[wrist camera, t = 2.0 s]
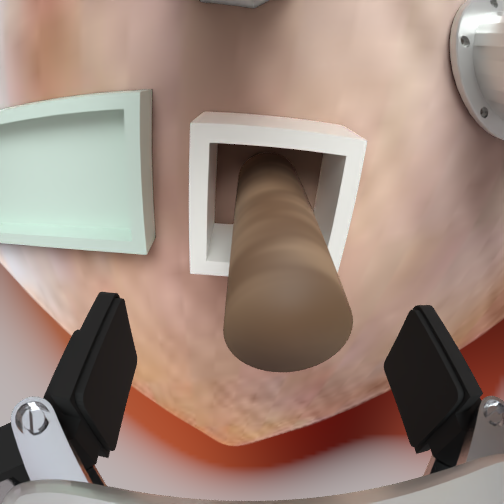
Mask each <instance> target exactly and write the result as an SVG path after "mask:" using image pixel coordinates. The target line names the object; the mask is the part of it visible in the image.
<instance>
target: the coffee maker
mask: <svg viewBox="0 0 504 504" xmlns="http://www.w3.org/2000/svg"><path fill="white" fill-rule="evenodd" d="M267 1H269V0H200V2H206V3H217V4H226V5H234V6H241V7H248V8H256V7H258V6H260V5H261V4H263V3H265V2H267Z"/></svg>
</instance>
